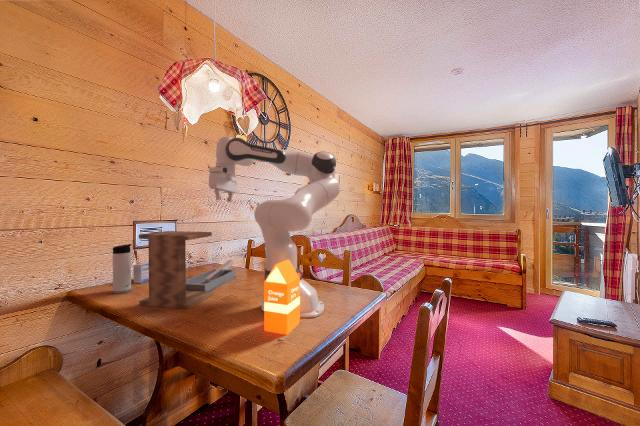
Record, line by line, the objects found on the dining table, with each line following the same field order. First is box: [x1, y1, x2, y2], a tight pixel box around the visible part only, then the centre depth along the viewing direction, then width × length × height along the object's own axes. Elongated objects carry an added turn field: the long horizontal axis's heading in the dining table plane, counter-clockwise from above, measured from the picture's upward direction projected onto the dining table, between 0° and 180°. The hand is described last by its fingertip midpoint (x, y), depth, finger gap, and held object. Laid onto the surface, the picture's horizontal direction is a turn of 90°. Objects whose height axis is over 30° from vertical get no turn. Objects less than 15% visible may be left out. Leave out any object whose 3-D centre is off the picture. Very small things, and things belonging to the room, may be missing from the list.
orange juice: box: [263, 259, 301, 335], centre depth 85 cm, size 8×9×20 cm
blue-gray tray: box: [186, 268, 237, 292], centre depth 130 cm, size 13×28×4 cm, turn 170°
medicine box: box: [132, 261, 149, 284], centre depth 135 cm, size 8×4×9 cm, turn 168°
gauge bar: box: [205, 259, 234, 283], centre depth 139 cm, size 2×22×2 cm, turn 169°
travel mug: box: [112, 243, 133, 295], centre depth 118 cm, size 6×7×20 cm
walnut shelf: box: [138, 230, 213, 310], centre depth 108 cm, size 20×15×26 cm
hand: (224, 200), depth 131 cm, fingers open, 8 cm apart
